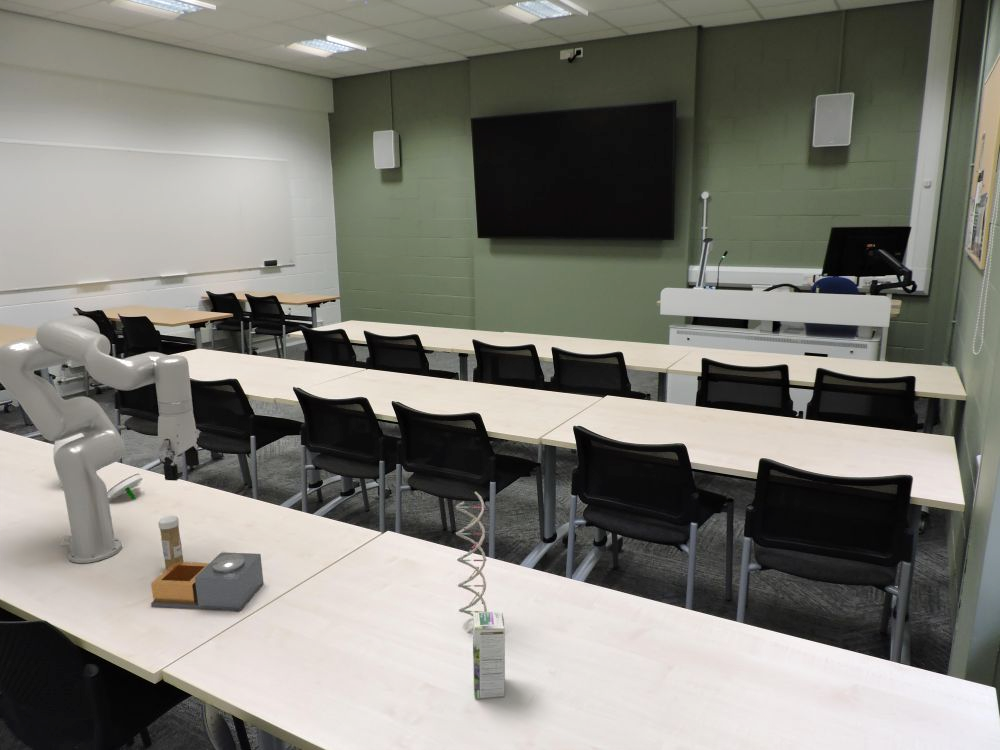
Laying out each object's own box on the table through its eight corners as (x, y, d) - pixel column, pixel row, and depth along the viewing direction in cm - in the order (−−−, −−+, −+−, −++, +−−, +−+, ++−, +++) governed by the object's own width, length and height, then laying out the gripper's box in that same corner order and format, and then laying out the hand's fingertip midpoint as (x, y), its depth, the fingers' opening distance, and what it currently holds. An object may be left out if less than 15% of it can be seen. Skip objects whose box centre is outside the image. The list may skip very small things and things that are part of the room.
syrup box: (473, 679, 134) (471, 611, 130) (503, 677, 134) (502, 610, 131) (474, 699, 128) (472, 629, 125) (506, 697, 129) (505, 627, 125)
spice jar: (185, 568, 178) (179, 519, 175) (166, 573, 175) (159, 524, 172) (182, 561, 181) (176, 513, 178) (163, 566, 179) (156, 517, 176)
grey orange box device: (151, 607, 160) (146, 571, 158) (186, 574, 175) (182, 541, 173) (240, 611, 158) (236, 575, 156) (268, 577, 173) (265, 544, 170)
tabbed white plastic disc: (131, 485, 231) (141, 459, 227) (149, 499, 230) (159, 474, 226) (92, 503, 217) (102, 476, 213) (111, 518, 216) (122, 491, 212)
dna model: (481, 636, 147) (478, 504, 140) (453, 631, 149) (449, 500, 142) (492, 619, 153) (490, 492, 146) (465, 614, 155) (462, 488, 148)
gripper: (179, 396, 178) (186, 459, 182) (139, 416, 161) (148, 485, 165) (208, 397, 178) (214, 460, 182) (170, 417, 161) (178, 486, 165)
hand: (182, 472), depth 173 cm, fingers open, 9 cm apart
